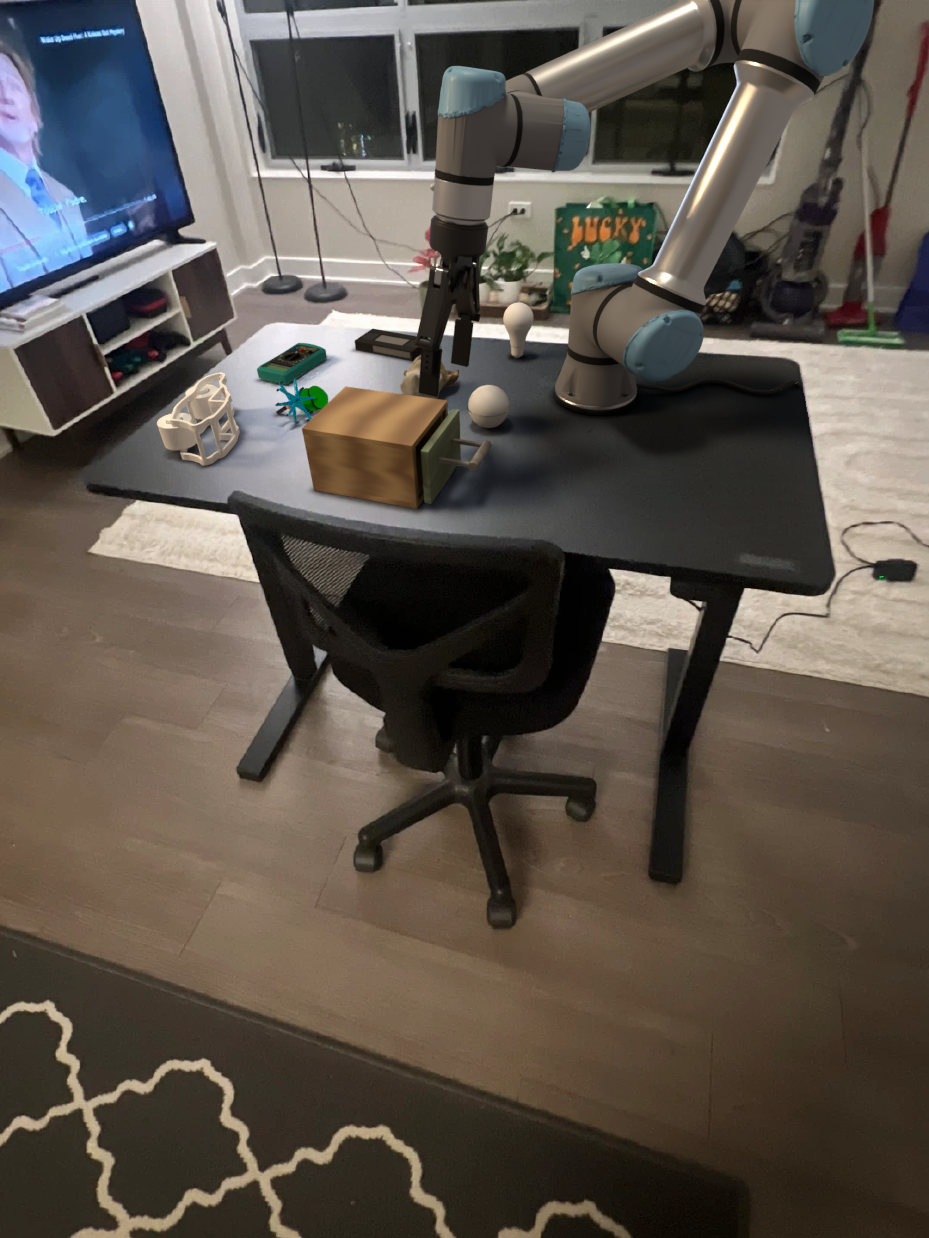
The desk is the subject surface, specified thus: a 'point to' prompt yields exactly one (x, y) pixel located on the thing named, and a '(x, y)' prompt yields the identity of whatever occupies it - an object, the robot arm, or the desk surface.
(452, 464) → the drawer
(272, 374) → the digital multimeter
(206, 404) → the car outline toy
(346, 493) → the cabinet
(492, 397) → the cream egg
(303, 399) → the stick construction toy
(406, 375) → the ceramic sculpture
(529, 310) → the lightbulb
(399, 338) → the vhs tape
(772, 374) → the desk surface
